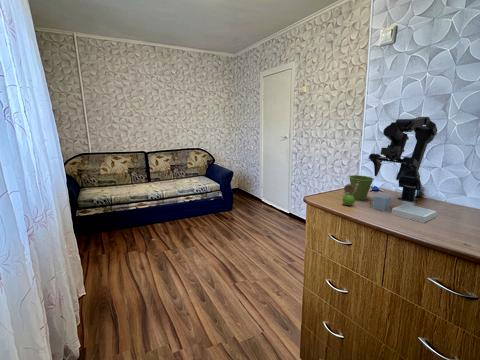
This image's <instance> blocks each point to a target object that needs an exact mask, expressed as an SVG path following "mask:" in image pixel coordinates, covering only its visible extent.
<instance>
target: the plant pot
mask: <svg viewBox="0 0 480 360" xmlns="http://www.w3.org/2000/svg"><path fill="white" fill-rule="evenodd" d="M348 178H349V182H350V183H349V184H351V185H353V186H354V189H355V185H356V184H358V181H359V186H358V188H357V191H356V192H355V193H354V194H352V195H353V196H354V198H355V201H356V200H358V201H359V200H362V201H365V200H366V199H367V197H368V194H369V191H370V188H371V185H372V184H373V181H374V180H375V178H374V177H371V176H367V175H359V174H356V175H354V174H352V175H348Z"/></svg>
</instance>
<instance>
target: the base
mask: <svg viewBox="0 0 480 360" xmlns="http://www.w3.org/2000/svg"><path fill="white" fill-rule="evenodd" d="M391 215H394V216H399V217H402V218H406V219H409V220H413V221H416V222H420V223H422V224H425V223H426V222H429V221H430V220H432V219H435V218H436V216H437V211H436V210H431V209H430V208H429V209H428V208H424V207H420V206H417V205H412V204H408V203H404V204H401V205H398V206H395V207H392V210H391Z"/></svg>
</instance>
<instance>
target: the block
mask: <svg viewBox="0 0 480 360" xmlns="http://www.w3.org/2000/svg"><path fill="white" fill-rule="evenodd" d="M373 197H374V198H373V202H372V203H373V205H372V209H374V210H377V211H378V210H379V211H381V212H386V211H389V210H390V209H391V208H390V207H391V202H392V196H390V195H389V196H388V195H385V194H376V195H374V196H373Z"/></svg>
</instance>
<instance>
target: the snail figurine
mask: <svg viewBox="0 0 480 360" xmlns="http://www.w3.org/2000/svg"><path fill="white" fill-rule="evenodd" d="M358 186H359V181H358V184H356V185H355V189H354V186H353V185H351V184H350V183H348V184H346V185H344V187H343V190H344V191H343V193H344V195H343V196H342V203H343V204H344V205H345V206H352V205H354V203H355V201H356V199H355V198H354V196H353V195H352V194H354V193H355V192H356V191H357V188H358Z"/></svg>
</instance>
